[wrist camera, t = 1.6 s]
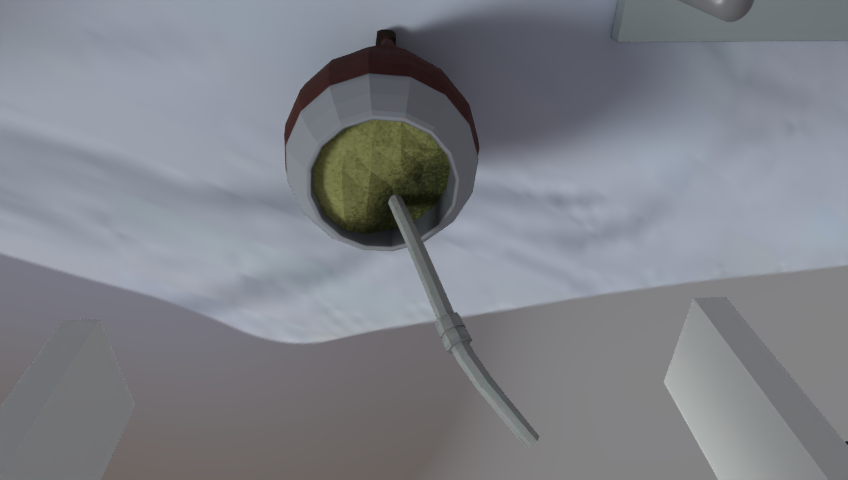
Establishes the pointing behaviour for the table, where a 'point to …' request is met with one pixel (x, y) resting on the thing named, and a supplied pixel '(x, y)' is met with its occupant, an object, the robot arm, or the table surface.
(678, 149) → the table surface
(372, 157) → the mate gourd
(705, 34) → the tray
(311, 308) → the table surface
